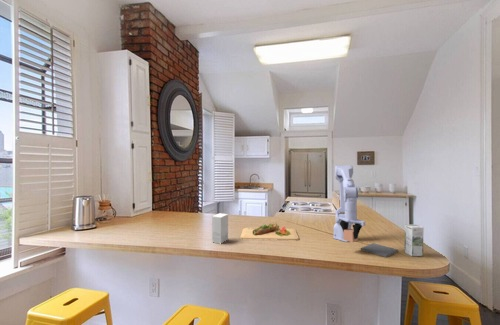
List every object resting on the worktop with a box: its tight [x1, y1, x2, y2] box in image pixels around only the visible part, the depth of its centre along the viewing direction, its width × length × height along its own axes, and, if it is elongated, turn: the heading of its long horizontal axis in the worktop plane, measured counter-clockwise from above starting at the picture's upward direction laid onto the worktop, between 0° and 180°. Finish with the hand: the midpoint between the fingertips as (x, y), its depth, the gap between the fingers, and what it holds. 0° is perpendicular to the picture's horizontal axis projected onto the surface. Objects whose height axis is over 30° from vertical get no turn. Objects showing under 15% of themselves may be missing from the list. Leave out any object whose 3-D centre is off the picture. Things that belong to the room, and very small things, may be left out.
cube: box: [344, 228, 359, 243], centre depth 128 cm, size 5×5×5 cm
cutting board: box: [239, 222, 300, 241], centre depth 160 cm, size 35×23×8 cm
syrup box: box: [404, 224, 425, 257], centre depth 124 cm, size 6×6×14 cm
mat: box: [360, 243, 399, 258], centre depth 130 cm, size 13×13×1 cm
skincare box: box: [211, 212, 229, 244], centre depth 146 cm, size 8×7×16 cm
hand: (350, 237), depth 128 cm, fingers closed on cube, 5 cm apart
